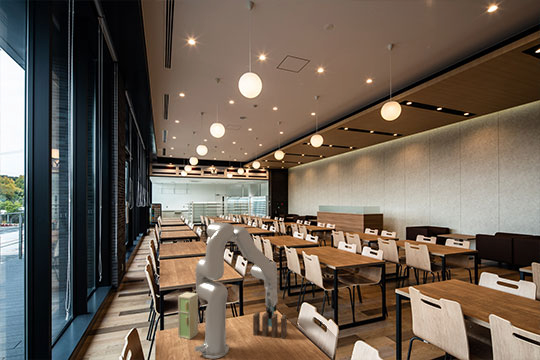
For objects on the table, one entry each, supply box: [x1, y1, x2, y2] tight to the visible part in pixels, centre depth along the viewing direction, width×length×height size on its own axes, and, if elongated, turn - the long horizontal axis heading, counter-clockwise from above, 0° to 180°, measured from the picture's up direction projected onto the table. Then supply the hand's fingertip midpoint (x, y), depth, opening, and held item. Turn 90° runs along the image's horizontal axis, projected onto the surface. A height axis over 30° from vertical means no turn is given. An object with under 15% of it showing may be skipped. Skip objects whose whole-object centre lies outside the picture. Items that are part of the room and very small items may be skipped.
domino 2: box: [261, 312, 269, 338], centre depth 142 cm, size 2×5×10 cm, turn 165°
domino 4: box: [271, 313, 279, 339], centre depth 140 cm, size 2×5×10 cm, turn 165°
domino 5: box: [280, 314, 288, 340], centre depth 139 cm, size 2×5×10 cm, turn 165°
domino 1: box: [252, 311, 261, 337], centre depth 143 cm, size 2×5×10 cm, turn 165°
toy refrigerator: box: [177, 291, 199, 340], centre depth 142 cm, size 8×7×21 cm
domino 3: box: [269, 307, 275, 328], centre depth 153 cm, size 2×5×10 cm, turn 165°
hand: (271, 314), depth 153 cm, fingers open, 9 cm apart
